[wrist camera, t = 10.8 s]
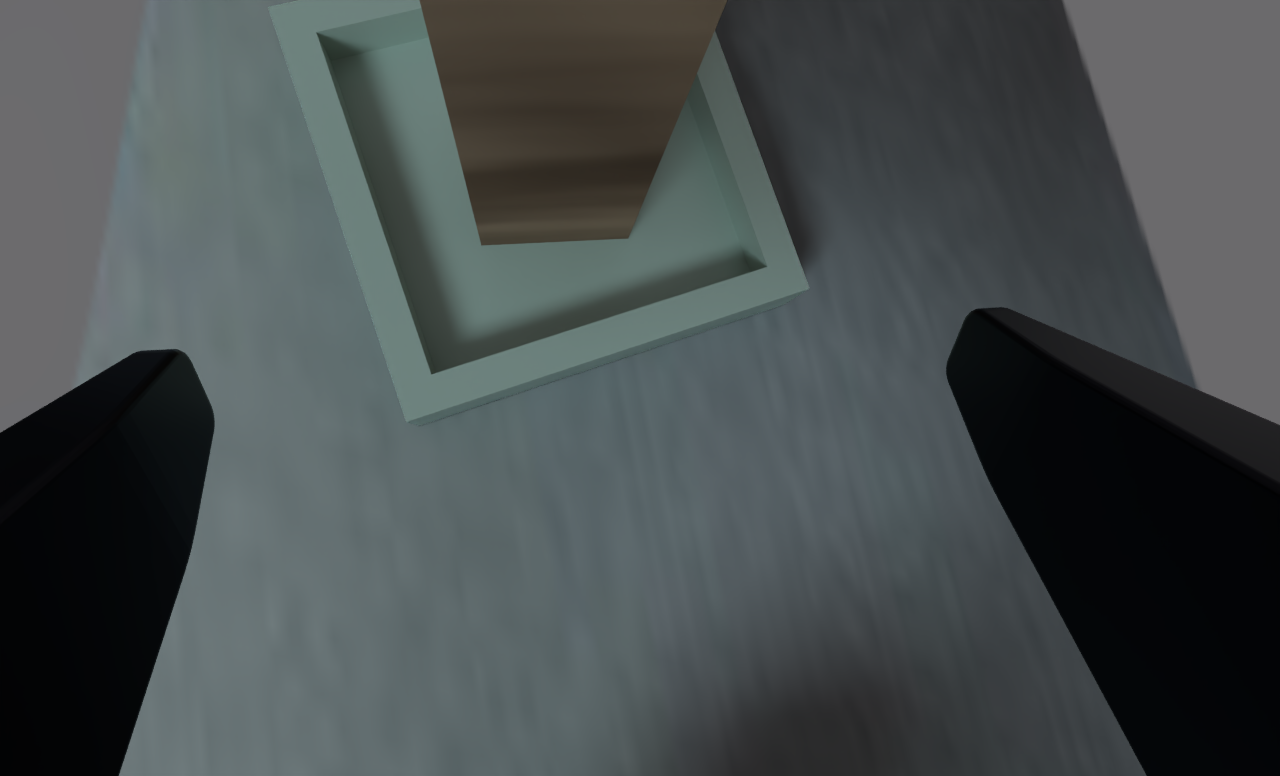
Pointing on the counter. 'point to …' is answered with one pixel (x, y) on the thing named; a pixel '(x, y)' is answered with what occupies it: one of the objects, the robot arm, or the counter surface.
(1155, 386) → the robot arm
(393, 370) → the tray
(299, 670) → the counter surface
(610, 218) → the tan wooden block
